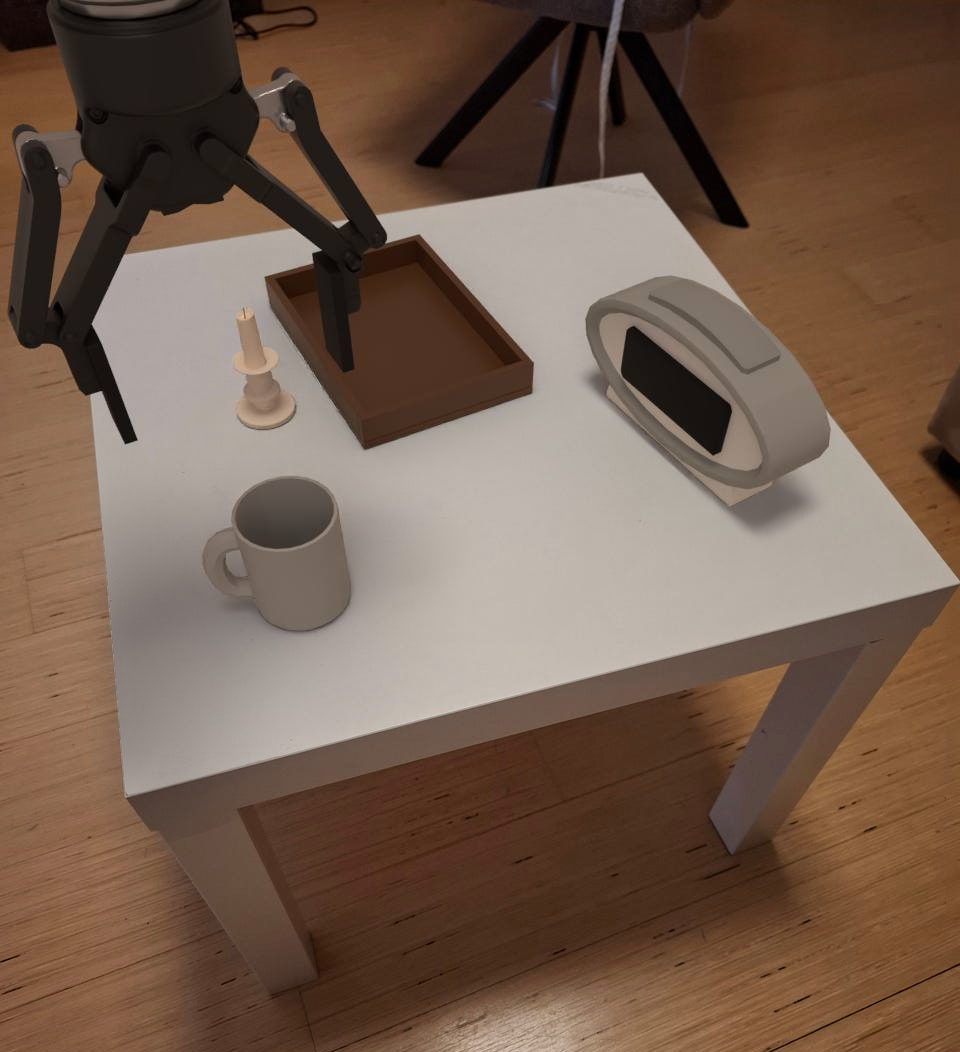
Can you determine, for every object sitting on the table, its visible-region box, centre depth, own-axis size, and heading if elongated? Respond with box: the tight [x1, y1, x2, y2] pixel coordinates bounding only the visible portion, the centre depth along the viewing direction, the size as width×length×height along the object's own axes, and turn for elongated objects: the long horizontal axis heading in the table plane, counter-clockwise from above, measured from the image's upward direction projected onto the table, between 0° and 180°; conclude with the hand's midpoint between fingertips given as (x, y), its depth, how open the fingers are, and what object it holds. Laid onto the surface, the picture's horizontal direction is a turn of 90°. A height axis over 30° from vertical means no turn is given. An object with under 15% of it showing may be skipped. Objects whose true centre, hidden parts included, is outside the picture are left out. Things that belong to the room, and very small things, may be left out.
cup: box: [201, 475, 351, 632], centre depth 67 cm, size 7×10×9 cm
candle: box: [231, 307, 297, 430], centre depth 80 cm, size 5×5×10 cm
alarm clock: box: [584, 275, 832, 508], centre depth 77 cm, size 23×6×13 cm, turn 33°
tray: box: [263, 233, 535, 450], centre depth 88 cm, size 24×17×3 cm
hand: (236, 393), depth 57 cm, fingers open, 13 cm apart
